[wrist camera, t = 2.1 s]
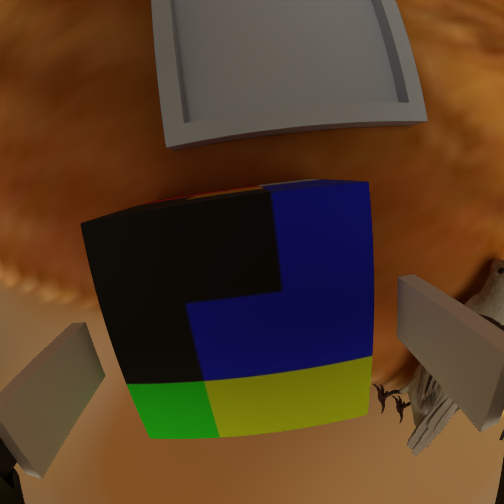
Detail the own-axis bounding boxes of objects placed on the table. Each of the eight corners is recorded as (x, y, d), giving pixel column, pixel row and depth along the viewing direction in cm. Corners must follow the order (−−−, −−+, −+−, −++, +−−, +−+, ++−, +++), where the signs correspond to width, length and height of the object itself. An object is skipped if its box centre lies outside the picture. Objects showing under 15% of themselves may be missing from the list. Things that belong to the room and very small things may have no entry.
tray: (156, -35, 15) (149, -52, 13) (358, -48, 15) (367, -63, 13) (175, 150, 19) (166, 147, 17) (410, 125, 19) (427, 121, 16)
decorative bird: (505, 274, 22) (560, 301, 14) (396, 408, 24) (428, 463, 17) (481, 238, 21) (544, 260, 14) (361, 388, 24) (392, 449, 16)
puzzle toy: (309, 179, 20) (368, 181, 10) (321, 322, 22) (367, 414, 12) (154, 200, 20) (80, 223, 10) (183, 340, 22) (150, 438, 12)
